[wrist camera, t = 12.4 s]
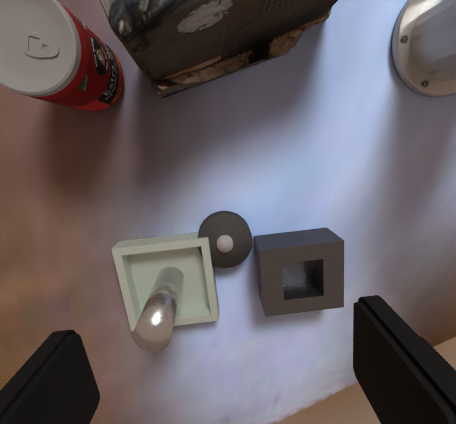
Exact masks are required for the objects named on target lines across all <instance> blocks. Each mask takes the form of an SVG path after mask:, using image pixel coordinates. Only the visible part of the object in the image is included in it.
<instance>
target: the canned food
mask: <svg viewBox="0 0 456 424" xmlns="http://www.w3.org/2000/svg"><path fill="white" fill-rule="evenodd" d="M0 85H2V86H4V87H5V88H7V89H9V90H12V91H14V92H17V93H20V94H22V95H26V96H30V97H33V98H36V99H40V100H44V101H48V102H52V103H56V104H61V105H65V106H69V107H73V108H77V109H81V110H85V111H99V110H103V109H106V108H108V107H110V106H111V105H113V104H114V103H115V102H116V101H117V100H118V98H119V97H120V95H121V93H122V90H123V86H124V76H123V70H122V67H121V64H120V62H119V60H118V58H117V56H116V55H115V54H114V52H113V51H112V50H111V49H110V48H109V47H108V46H107V45H106V44H105V43H104V42H102V41H101V40H100V39H99V38H98V37H97V36H96V35H95V34H94V33H93V32H92V31H90V30H89V29H88V28H87V27H86V26H85V25H84V24H83V23H82V22H81V21H80V20H78V19H77V18H76V17H75V16H74V15H73V14H72V13H71V12H70V11H69V10H67V9H66V8H65V7H64V6H63V5H62V4H61V3H59V2H58V1H57V0H0Z"/></svg>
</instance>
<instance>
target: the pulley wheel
mask: <svg viewBox="0 0 456 424" xmlns="http://www.w3.org/2000/svg"><path fill="white" fill-rule="evenodd" d="M204 237H208V240H209V247H210V254H211V262H212V265H213V266H216V267H220V268H229V267H233V266H236V265H238V264H240V263H241V262H243V261H244V260H245V259H246V258H247V256H248V255H249V253H250V251H251V248H252V235H251V232H250V229H249V227H248V225H247V223H246V221H245V220H244V219H243V218H242V217H241V216H239V215H238V214H236V213H233V212H229V211H220V212H216V213H213V214H211V215H210V216H208V217H207V218H206V219H205V220H204V221H203V223H202V224H201V226H200V229H199V233H198V238H204ZM198 250H199V253H200V255H201V256H202V249H201V246H199V247H198ZM202 258H203V256H202Z"/></svg>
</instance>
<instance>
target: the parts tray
mask: <svg viewBox="0 0 456 424" xmlns="http://www.w3.org/2000/svg"><path fill="white" fill-rule="evenodd" d="M198 233H199V232H195V233H186V234H177V235H169V236H160V237H151V238H143V239H134V240H126V241H119V242H118V243H117V244H116V245H115V246H114V247H113V248H112V253H113V257H114V261H115V266H116V270H117V274H118V278H119V282H120V287H121V291H122V295H123V299H124V303H125V307H126V312H127V316H128V320H129V324H130V328H131V331H134V329H135V327H136V324H137V322H138V320H139V318H140V315H141V313H142V311H143V308H144V306H145V304H146V301H147V299H148V297H149V295H150V292H151V290H152V288H153V285H154V283H155V281H156V279H157V276H158V274H159V272H160V271H161V270H162V269H163V268H166V267H175V268H178V269H179V270H180V271H181V272H182V273H183V275H184V283H183V287H182V291H181V296H180V300H179V304H178V309H177V313H176V317H175V322H174V326H178V325H186V324H194V323H203V322H211V321H219V304H218V296H217V289H216V281H215V274H214V266H213V265H212V262H211V254H210V247H209V240H208V237H204V238H198ZM199 246H201V249H202V256H203V258H202V256H201V255H200V253H199V250H198V247H199Z"/></svg>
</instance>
